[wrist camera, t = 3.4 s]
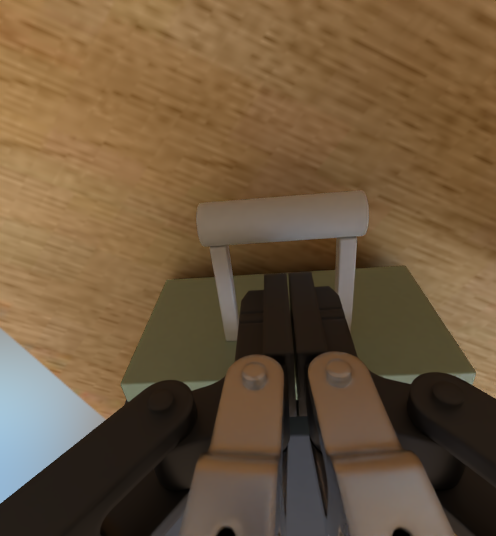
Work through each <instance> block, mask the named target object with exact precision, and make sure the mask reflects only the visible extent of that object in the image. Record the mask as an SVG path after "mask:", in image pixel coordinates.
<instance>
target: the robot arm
mask: <svg viewBox="0 0 496 536" xmlns="http://www.w3.org/2000/svg"><path fill="white" fill-rule="evenodd" d="M288 277H289V295H288V284H287V273H277V274H264V290H250V291H248V292H247V293H246V295H245V296H244V298H243V299H242V300H241V307H240V316H239V326H238V335H237V344H236V354H235V361H234V363H233V364H232V365H231V366H230V367H229V369H228V371H227V373H226V376H225V377H224V378H222V379H221V380H219V381H218V382H216V383H214V384H211V385H208V386H205V387H202V388H199V389H196V390H192V391H191V389H190V388H189V386H187V385H186V384H185V383H183V382H181V381H178V380H164V381H160V382H157V383H154V384H152V385H150V386H149V387H147V388H146V389H144V390H143V391H142V392H141V393H139V394H138V395H137V396H136V397H134V398H133V399H132V400H131V401H129V402H128V403H127V404H125V405H124V406H123V407H122V408H120V409H119V410H118V411H117V412H115V413H114V414H113V415H112V416H110V417H109V418H108V419H107V420H105V421H104V422H103V423H102V424H100V425H99V426H98V427H96V428H95V429H94V430H93V431H92V432H90V433H89V434H88V435H86V436H85V437H84V438H83V439H81V440H80V441H79V442H78V443H76V444H75V445H74V446H73V447H71V448H70V449H69V450H68V451H66V452H65V453H64V454H62V455H61V456H60V457H59V458H57V459H56V460H55V461H54V462H52V463H51V464H50V465H49V466H47V467H46V468H45V469H43V470H42V471H41V472H40V473H38V474H37V475H36V476H35V477H33V478H32V479H31V480H30V481H29V482H27V483H26V484H25V485H24V486H22V487H21V488H20V489H18V490H17V491H16V492H15V493H13V494H12V495H11V496H10V497H8V498H7V499H6V500H4V501H3V502H2V503H1V504H0V536H165V534H166V533H167V532H168V531H169V530H170V529H171V527H172V526H173V525H174V524H175V523H176V522H177V521H178V519H179V518H180V517H181V516H182V515H183V514H184V515H183V519H182V523H181V527H180V531H179V535H178V536H287V504H288V460H289V441H290V433H291V432H290V417H297V413H296V391H295V376H296V387H297V398H298V409H299V416H307V418H308V427H309V446H310V452H311V457H312V462H313V468H314V473H315V478H316V483H317V489H318V494H319V499H320V505H321V510H322V515H323V521H324V527H325V534H326V536H455V534H456V535H457V536H496V399H495V398H493V397H491V396H490V395H488V394H486V393H485V392H483V391H481V390H479V389H478V388H476V387H474V386H473V385H471V384H469V383H468V382H466V381H464V380H462V379H460V378H458V377H456V376H453V375H450V374H447V373H441V372H428V373H424V374H421V375H419V376H418V377H416V378H415V379H414V380H413V382H412V383H411V384H408V383H404V382H399V381H395V380H390V379H387V378H384V377H381V376H378V375H377V374H375V373H373V372H371V371H370V370H368V368H367V366H366V365H365V364H364V363H363V362H362V361H361V360H360V359H359V358H358V356H357V353H356V350H355V347H354V343H353V340H352V337H351V333H350V330H349V327H348V324H347V320H346V319H345V314H344V310H343V308H342V304H341V300H340V297H339V295H338V294H337V293H336V292H335V291H334V290H333V289H332V288H331V287H330V286H319V287H314V282H313V277H312V272H311V271H309V272H292V273H288ZM289 298H290V306H289ZM294 364H295V368H294ZM454 533H455V534H454Z"/></svg>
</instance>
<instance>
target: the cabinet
mask: <svg viewBox="0 0 496 536" xmlns="http://www.w3.org/2000/svg"><path fill="white" fill-rule="evenodd" d="M127 403H128V401H127V400H126V402H125V404H127ZM290 432H291V433H290V441H289V460H288V504H287V536H326V534H325V527H324V521H323V515H322V510H321V505H320V499H319V494H318V489H317V483H316V478H315V473H314V468H313V462H312V457H311V452H310V446H309V427H308V418H307V416H297V417H290ZM183 515H184V514H183ZM183 515H182V516H181V517H180V518H179V519H178V521H177V522H176V523H175V524H174V525H173V526H172V527H171V529H170V530H169V531H168V532H167V533H166V534H165V536H178V535H179V531H180V527H181V523H182V519H183Z"/></svg>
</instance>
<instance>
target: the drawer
mask: <svg viewBox="0 0 496 536" xmlns="http://www.w3.org/2000/svg"><path fill="white" fill-rule="evenodd" d="M196 222H197V232H198V236H199V240H200V242H201V244H202V246H204V247H207V246H210V254H211V259H212V265H213V271H214V276H215V277H205V278H189V279H172V280H166V283H165V285H164V287H163V289H162V292H161V294H160V296H159V298H158V301H157V303H156V305H155V307H154V310H153V312H152V314H151V316H150V319H149V321H148V323H147V325H146V328H145V330H144V332H143V334H142V337H141V339H140V341H139V343H138V346H137V348H136V350H135V352H134V355H133V357H132V359H131V361H130V364H129V366H128V368H127V370H126V373H125V375H124V377H123V379H122V382H121V387H122V389H123V392H124V394H125V396H126V399H127V401H128V402H129V401H131V400H132V399H133V398H134V397H136V396H137V395H138V394H139V393H141V392H142V391H143V390H144V389H146V388H147V387H149V386H150V385H152V384H154V383H157V382H160V381H164V380H178V381H181V382H183V383H185V384H186V385H187V386H189V388H190V389H191V391H192V390H196V389H199V388H202V387H205V386H208V385H211V384H214V383H216V382H218V381H219V380H221V379H222V378H224V377H225V376H226V373H227V371H228V369H229V367H230V366H231V365H232V364H233V363H234V361H235V354H236V344H237V335H238V326H239V316H240V307H241V300H242V299H243V298H244V296H245V295H246V293H247V292H248V291H250V290H264V274H256V275H239V276H233V273H232V266H231V259H230V252H229V245H237V244H251V243H266V242H281V241H296V240H310V239H325V238H337V239H336V267H335V270H323V271H311V272H312V277H313V282H314V287H319V286H330V287H331V288H332V289H333V290H334V291H335V292H336V293H337V294H338V295H339V297H340V300H341V304H342V308H343V310H344V314H345V319H346V320H347V324H348V327H349V330H350V333H351V337H352V340H353V343H354V347H355V350H356V353H357V356H358V358H359V359H360V360H361V361H362V362H363V363H364V364H365V365H366V366H367V368H368V370H370V371H371V372H373V373H375V374H377V375H378V376H381V377H384V378H387V379H390V380H395V381H399V382H404V383H408V384H411V383H412V382H413V380H414V379H415V378H416V377H418V376H419V375H421V374H424V373H428V372H441V373H447V374H450V375H453V376H456V377H458V378H460V379H462V380H464V381H466V382H468V383H469V384H471V385H472V384H473V381H474V378H475V375H476V371H475V370H474V368H473V367H472V365H471V364H470V362H469V361H468V359H467V358H466V356H465V355H464V353H463V352H462V350H461V349H460V347H459V346H458V344H457V343H456V341H455V340H454V338H453V337H452V335H451V334H450V332H449V331H448V329H447V328H446V326H445V325H444V323H443V322H442V320H441V319H440V317H439V316H438V314H437V313H436V311H435V310H434V308H433V307H432V305H431V303H430V302H429V300H428V299H427V297H426V296H425V294H424V293H423V291H422V290H421V288H420V287H419V285H418V284H417V282H416V281H415V279H414V278H413V276H412V275H411V273H410V272H409V270H408V269H407V267H406V266H390V267H373V268H356V269H355V265H356V251H357V237H356V236H363V235H365V234H366V232H367V228H368V223H369V207H368V200H367V197H366V194H365V192H364V191H362V190H357V191H344V192H332V193H319V194H306V195H294V196H281V197H269V198H256V199H243V200H231V201H218V202H206V203H200V204H199V205H198V207H197V213H196ZM306 272H309V271H306ZM289 273H292V272H289ZM272 274H277V273H272ZM287 284H288V295H289V277H288V273H287ZM289 306H290V298H289ZM294 368H295V364H294ZM295 391H296V413H297V416H299V409H298V398H297V387H296V376H295Z"/></svg>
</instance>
